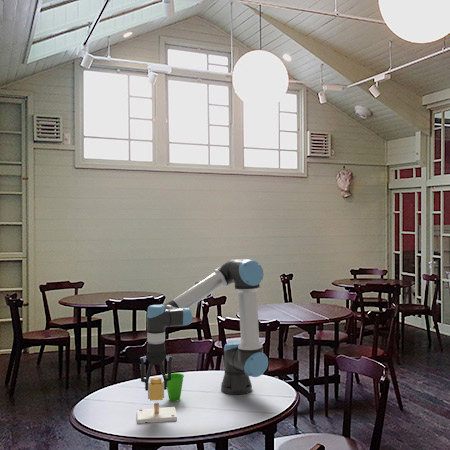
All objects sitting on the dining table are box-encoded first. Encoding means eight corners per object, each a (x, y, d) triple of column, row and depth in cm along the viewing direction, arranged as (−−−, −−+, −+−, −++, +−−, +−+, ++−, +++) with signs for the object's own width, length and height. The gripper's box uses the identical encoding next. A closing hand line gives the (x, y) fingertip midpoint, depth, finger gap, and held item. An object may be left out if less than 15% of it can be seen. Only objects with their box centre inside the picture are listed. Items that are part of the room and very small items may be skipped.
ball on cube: (161, 395, 209) (161, 376, 209) (162, 399, 204) (162, 380, 204) (149, 396, 208) (149, 377, 208) (149, 400, 203) (149, 381, 203)
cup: (181, 403, 222) (180, 379, 222) (162, 402, 224) (161, 378, 224) (186, 396, 231) (186, 373, 231) (168, 395, 232) (168, 372, 233)
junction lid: (174, 410, 213) (174, 397, 213) (176, 420, 201) (176, 407, 201) (137, 412, 210) (137, 400, 210) (137, 423, 198) (137, 409, 199)
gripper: (177, 339, 212) (176, 393, 211) (134, 341, 209) (134, 396, 208) (178, 343, 204) (178, 399, 204) (134, 344, 201) (133, 401, 201)
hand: (156, 397), depth 206 cm, fingers closed on ball on cube, 5 cm apart
